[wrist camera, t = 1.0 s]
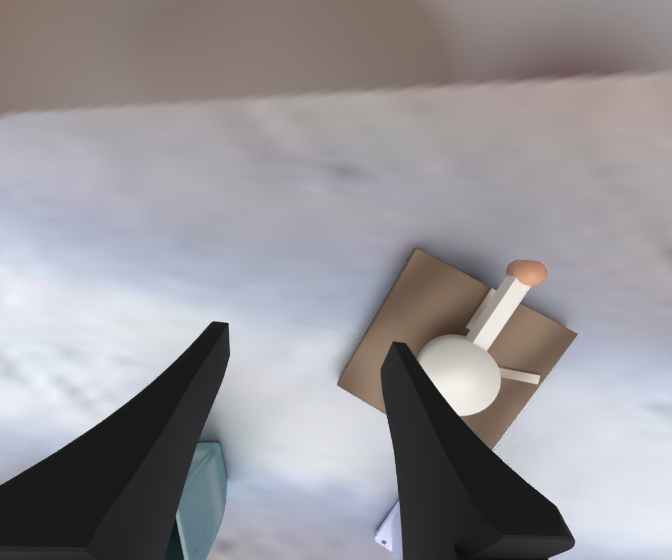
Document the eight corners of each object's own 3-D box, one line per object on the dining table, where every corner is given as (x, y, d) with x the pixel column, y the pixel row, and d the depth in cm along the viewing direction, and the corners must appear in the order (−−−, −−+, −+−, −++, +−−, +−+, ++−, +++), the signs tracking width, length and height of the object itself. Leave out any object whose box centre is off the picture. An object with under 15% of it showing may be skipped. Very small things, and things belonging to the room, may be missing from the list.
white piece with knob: (465, 414, 24) (473, 431, 22) (402, 378, 24) (405, 391, 22) (560, 279, 22) (580, 283, 19) (489, 242, 22) (501, 242, 20)
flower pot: (177, 495, 33) (104, 584, 25) (164, 426, 33) (84, 492, 24) (245, 497, 32) (193, 592, 23) (233, 425, 31) (175, 495, 22)
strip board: (566, 328, 25) (588, 338, 22) (472, 456, 27) (482, 479, 25) (414, 248, 26) (419, 248, 23) (339, 378, 28) (334, 391, 26)
